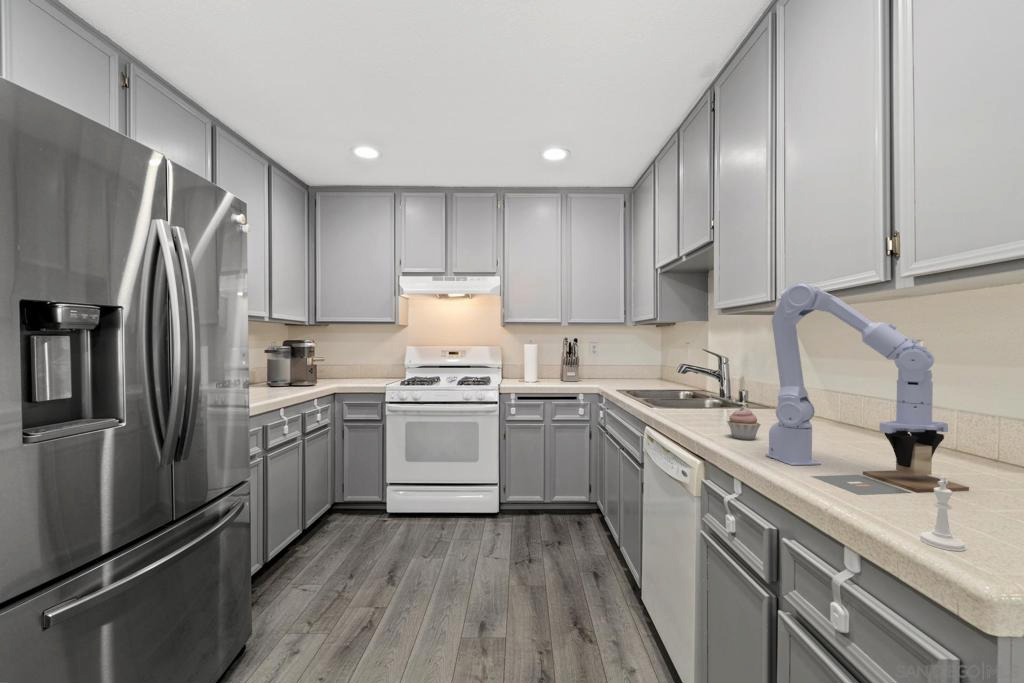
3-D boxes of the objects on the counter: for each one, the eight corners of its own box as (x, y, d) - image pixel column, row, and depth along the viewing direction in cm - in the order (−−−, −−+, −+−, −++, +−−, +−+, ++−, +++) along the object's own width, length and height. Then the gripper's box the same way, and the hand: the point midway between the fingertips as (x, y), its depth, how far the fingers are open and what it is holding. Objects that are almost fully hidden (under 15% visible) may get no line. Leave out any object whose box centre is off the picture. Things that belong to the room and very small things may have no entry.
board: (862, 475, 101) (862, 471, 101) (909, 473, 103) (909, 470, 103) (917, 493, 89) (917, 489, 89) (968, 491, 91) (969, 487, 91)
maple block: (896, 469, 98) (896, 442, 98) (912, 469, 98) (912, 442, 98) (914, 475, 94) (915, 446, 94) (931, 474, 94) (931, 446, 94)
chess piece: (912, 539, 68) (913, 473, 68) (931, 534, 70) (932, 470, 70) (953, 553, 64) (954, 483, 64) (973, 548, 66) (974, 480, 66)
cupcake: (721, 434, 143) (721, 403, 143) (751, 435, 143) (751, 403, 143) (734, 441, 134) (735, 408, 134) (766, 441, 134) (767, 408, 134)
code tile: (810, 476, 99) (810, 476, 99) (858, 475, 101) (858, 474, 101) (858, 495, 88) (858, 494, 88) (912, 493, 89) (912, 492, 89)
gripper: (902, 405, 91) (901, 472, 91) (964, 404, 93) (963, 470, 93) (870, 400, 98) (869, 462, 98) (928, 400, 100) (927, 460, 100)
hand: (913, 465), depth 96 cm, fingers closed on maple block, 4 cm apart
